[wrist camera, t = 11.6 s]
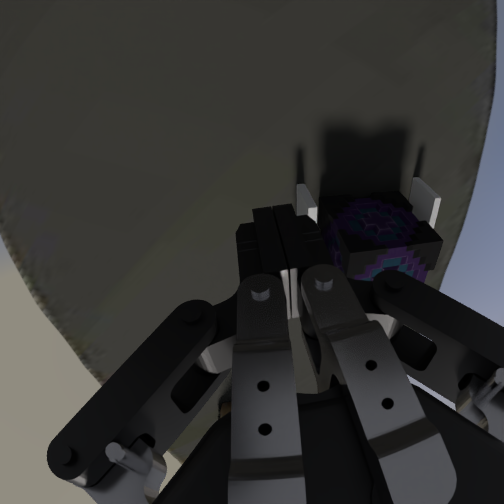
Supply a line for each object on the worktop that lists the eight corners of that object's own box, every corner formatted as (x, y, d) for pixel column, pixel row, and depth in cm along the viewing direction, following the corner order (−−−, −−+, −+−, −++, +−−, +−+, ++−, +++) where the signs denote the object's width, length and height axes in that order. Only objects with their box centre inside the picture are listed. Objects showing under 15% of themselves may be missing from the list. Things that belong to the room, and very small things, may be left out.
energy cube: (398, 190, 41) (443, 240, 32) (385, 257, 49) (417, 311, 39) (318, 196, 41) (350, 253, 31) (315, 267, 48) (337, 328, 39)
